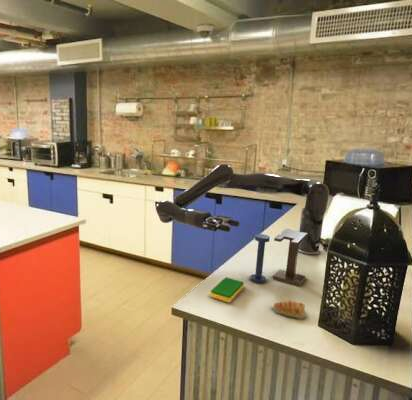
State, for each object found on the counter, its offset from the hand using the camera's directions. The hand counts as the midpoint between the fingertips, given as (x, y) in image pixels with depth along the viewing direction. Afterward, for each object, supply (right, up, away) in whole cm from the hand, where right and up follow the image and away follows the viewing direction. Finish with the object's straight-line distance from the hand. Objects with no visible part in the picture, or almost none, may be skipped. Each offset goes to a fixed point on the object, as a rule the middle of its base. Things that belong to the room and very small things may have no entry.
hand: (234, 226), depth 146 cm
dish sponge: (-6, -23, -12) cm, 27 cm away
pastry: (+11, -27, -25) cm, 38 cm away
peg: (+9, -21, -2) cm, 22 cm away
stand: (+19, -21, -3) cm, 29 cm away
